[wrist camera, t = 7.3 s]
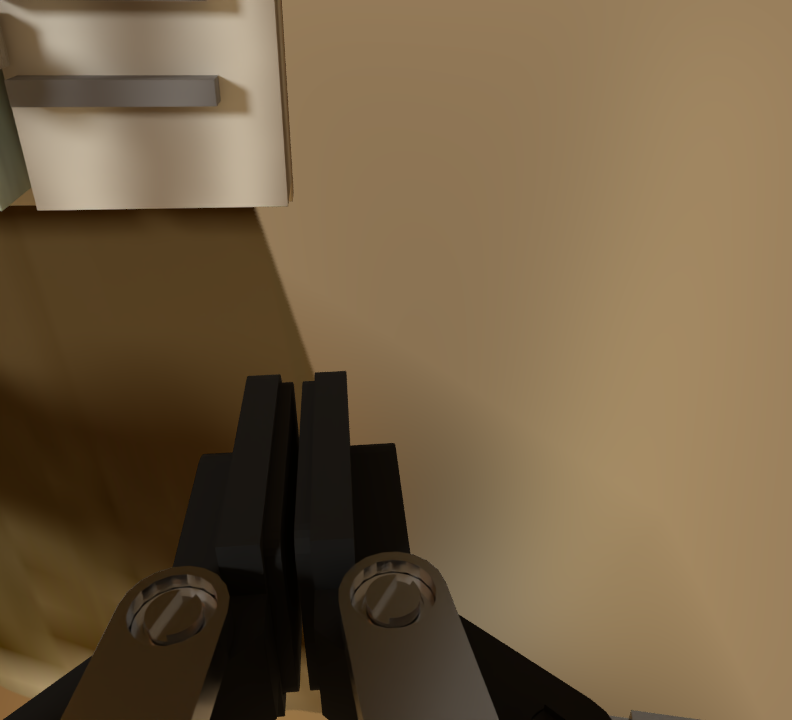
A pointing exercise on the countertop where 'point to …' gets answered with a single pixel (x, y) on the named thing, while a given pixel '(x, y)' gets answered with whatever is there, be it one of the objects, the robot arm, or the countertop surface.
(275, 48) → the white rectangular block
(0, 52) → the bolt
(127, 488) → the countertop surface
